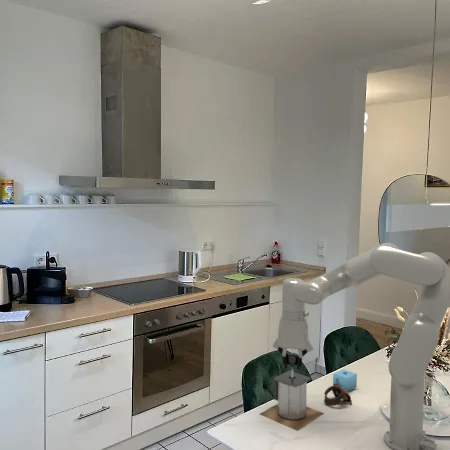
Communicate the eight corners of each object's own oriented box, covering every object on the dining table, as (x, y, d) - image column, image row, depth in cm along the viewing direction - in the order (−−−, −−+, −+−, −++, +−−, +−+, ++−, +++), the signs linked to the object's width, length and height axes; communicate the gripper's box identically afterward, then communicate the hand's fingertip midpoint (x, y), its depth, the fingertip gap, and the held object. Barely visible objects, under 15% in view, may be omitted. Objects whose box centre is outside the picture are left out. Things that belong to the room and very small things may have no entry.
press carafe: (311, 413, 156) (312, 377, 155) (295, 423, 148) (295, 386, 148) (283, 402, 164) (283, 368, 163) (266, 411, 157) (266, 375, 156)
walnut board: (324, 416, 156) (324, 413, 156) (297, 434, 144) (297, 430, 144) (286, 401, 167) (286, 398, 167) (259, 417, 155) (259, 413, 155)
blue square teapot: (341, 397, 171) (341, 378, 170) (327, 391, 176) (328, 373, 175) (358, 388, 179) (359, 370, 178) (345, 383, 183) (345, 365, 183)
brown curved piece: (357, 413, 160) (348, 395, 157) (332, 422, 161) (323, 405, 159) (349, 390, 171) (341, 374, 169) (326, 399, 173) (317, 383, 170)
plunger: (305, 400, 155) (306, 354, 154) (294, 406, 150) (295, 359, 149) (289, 394, 160) (290, 350, 159) (278, 400, 155) (279, 354, 154)
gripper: (318, 313, 155) (317, 365, 156) (270, 310, 159) (269, 361, 160) (317, 319, 147) (316, 374, 149) (267, 316, 151) (266, 369, 153)
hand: (292, 366), depth 154 cm, fingers closed on plunger, 3 cm apart
